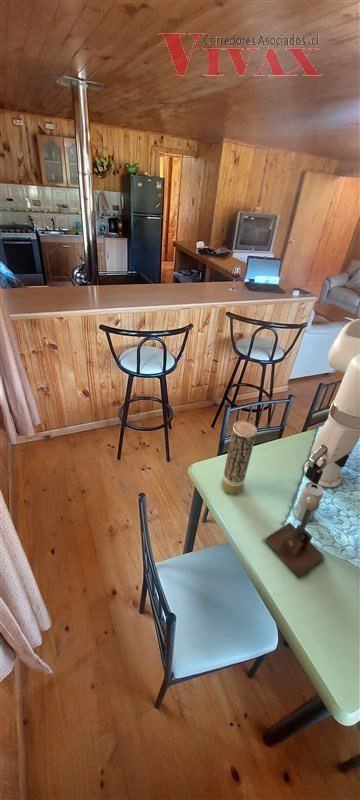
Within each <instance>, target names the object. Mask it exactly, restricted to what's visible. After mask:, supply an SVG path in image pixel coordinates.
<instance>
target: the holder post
mask: <svg viewBox="0 0 360 800" xmlns="http://www.w3.org/2000/svg"><path fill="white" fill-rule="evenodd" d="M304 506H305V508H306V511H305V514H304V517H303V519H302V521H301V522H300V527H299V530H298V531H297V532H295V533H294V534H293V535H294V536H295V537H296V538H297V539H298V540H299V541H300V542H301V543H302V544H303V542H304V539H305V536H304V535H303V532H304V530H306V527H307V524H308V522H309V521H308V520H309V517H310V514H311V512H312V511H315V512H316V511H317V510H318V509H319V508H320V502H319V500H318V499H317V498H316V497H314V496H308V497H306V498H305V500H304Z"/></svg>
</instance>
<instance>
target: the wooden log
mask: <svg viewBox="0 0 360 800" xmlns="http://www.w3.org/2000/svg"><path fill="white" fill-rule="evenodd" d="M257 431H258V428H257V427H256V425H255V424H254V423H252V422H250V421H247V420H238V421H236V422H234V424H233V426H232V430H231V435H230V442H229V445H228V450H227V456H226V460H225V466H224V471H223V476H222V480H221V487H222V489H223V490H224V491H225V492H226V493H228V494H231V495H236V494H238V493H240V492H241V491H242V490H243V486H244V482H245V479H246V475H247V472H248V468H249V464H250V460H251V456H252V452H253V448H254V444H255V440H256V436H257Z"/></svg>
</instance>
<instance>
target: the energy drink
mask: <svg viewBox="0 0 360 800" xmlns="http://www.w3.org/2000/svg"><path fill="white" fill-rule="evenodd" d="M308 496H314V497H316V498H317V499H318V500H319V503H320V502H321V500H322V498H323V496H324V489H323V486H320V485H318V484H314V483H313V482H312V481H309V482H307V483H306V484H305V485H304V486H303V487H302V491H301V493H300V496H299V499H298V500H297V504H296V505H295V508H294V516H295V517H296V518H297V520H299V521H301V522H302V519H303V517H304V514H305V511H306V508H305V506H304V500H305V498H306V497H308ZM315 514H316V511H312V512H311V514H310V517H309V520H308V522H311V521H312V520H313V517H314V515H315Z"/></svg>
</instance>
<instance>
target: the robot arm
mask: <svg viewBox="0 0 360 800" xmlns="http://www.w3.org/2000/svg"><path fill="white" fill-rule="evenodd" d="M327 363H328V365H329V367H331V368H332V369H333V370H335V371H338V372H342V373H344V374H343V377H342V379H341V383H340V385H339V387H338V390H337V392H336V395H335V398H334V399H333V401H332V402H331V404H330V407H329V411H328V417H327V419H326V420H325V422H324V423H323V425H322V427H321V429H320V431H319V432H318V434H317V436H316V438H315V440H314V443H313V445H312V446H311V450H310V453H311V456H309V458H308V460H307V461H306V462H305V464H304V468H303V471H304V476H305V478H307V479H308V480H309V481H310V482H313V483H314V484H318V485H320V486H321V487H322V488H323V487H324V488H336V487H338V486H340V484H341V483H342V481H343V475H342V472H341V471H342V469H343V468H344V467H345V466H346V463H347V461H348V459H349V458H350V455H351V454H352V453H353V451H354V449H355V447H356V446H357V444H358V442H359V440H360V318H357V319H354V320H352V321H349V322H348V323H347V324H346V325H344V326H343V327H342V329H341V330H340V331H339V333H338V335H337V336H336V338H335V339H334V341H333V343H332V345H331V347H330V349H329V352H328V355H327Z"/></svg>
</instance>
